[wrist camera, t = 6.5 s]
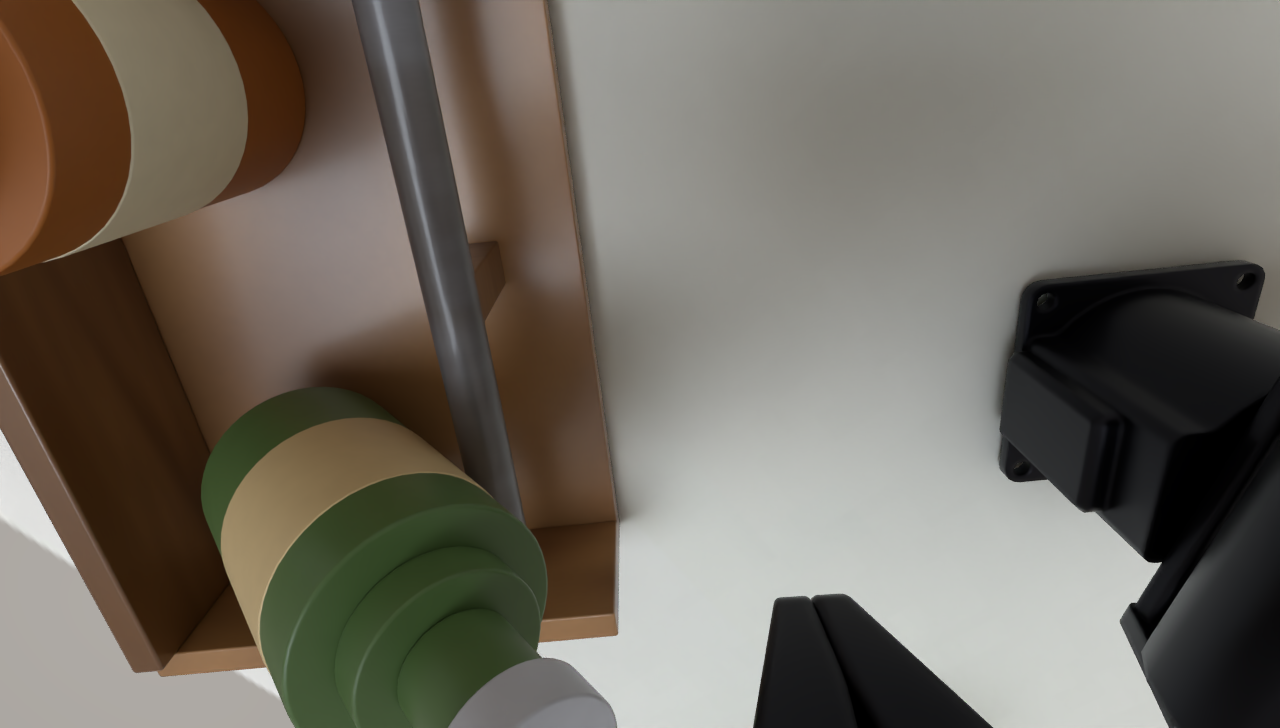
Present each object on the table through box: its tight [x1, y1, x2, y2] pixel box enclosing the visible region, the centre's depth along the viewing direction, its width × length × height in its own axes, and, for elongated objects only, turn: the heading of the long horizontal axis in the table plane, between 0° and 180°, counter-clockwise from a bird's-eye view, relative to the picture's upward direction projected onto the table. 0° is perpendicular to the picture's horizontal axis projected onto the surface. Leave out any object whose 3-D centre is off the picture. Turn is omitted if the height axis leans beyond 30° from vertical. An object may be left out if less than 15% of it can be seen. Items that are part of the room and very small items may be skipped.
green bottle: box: [201, 387, 617, 728], centre depth 15 cm, size 10×5×12 cm, turn 96°
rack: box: [0, 0, 620, 677], centre depth 16 cm, size 12×19×5 cm, turn 6°
